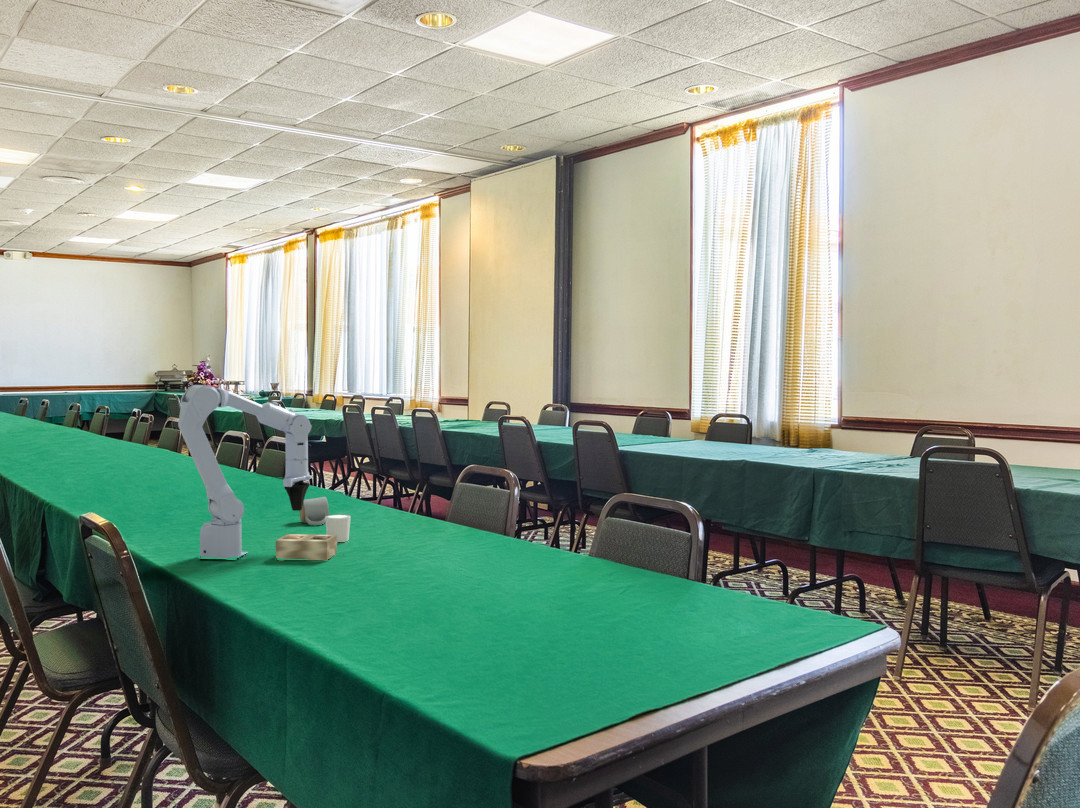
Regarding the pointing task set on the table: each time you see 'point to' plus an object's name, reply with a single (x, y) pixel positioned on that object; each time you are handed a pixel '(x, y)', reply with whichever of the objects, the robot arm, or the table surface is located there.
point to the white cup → (338, 526)
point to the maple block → (306, 547)
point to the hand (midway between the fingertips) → (297, 510)
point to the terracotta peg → (293, 537)
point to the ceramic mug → (314, 511)
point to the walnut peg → (320, 538)
